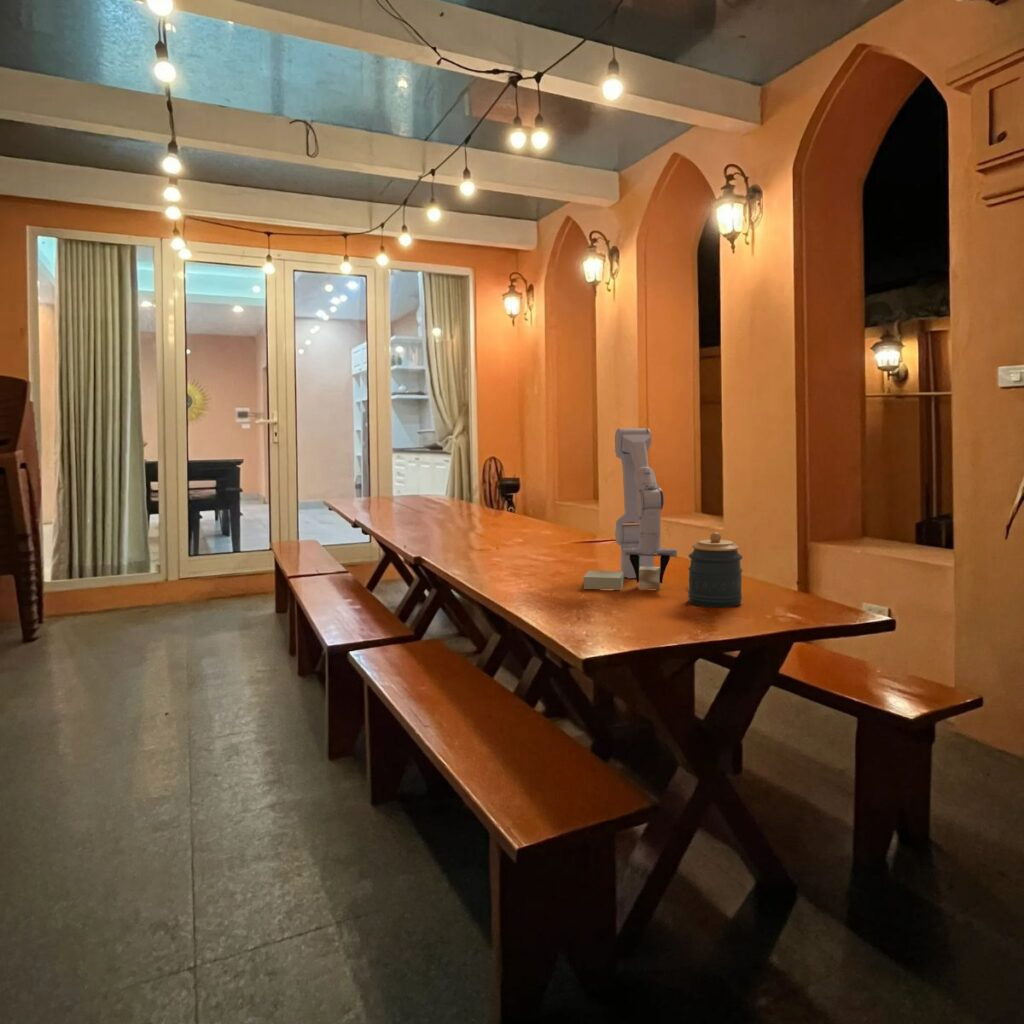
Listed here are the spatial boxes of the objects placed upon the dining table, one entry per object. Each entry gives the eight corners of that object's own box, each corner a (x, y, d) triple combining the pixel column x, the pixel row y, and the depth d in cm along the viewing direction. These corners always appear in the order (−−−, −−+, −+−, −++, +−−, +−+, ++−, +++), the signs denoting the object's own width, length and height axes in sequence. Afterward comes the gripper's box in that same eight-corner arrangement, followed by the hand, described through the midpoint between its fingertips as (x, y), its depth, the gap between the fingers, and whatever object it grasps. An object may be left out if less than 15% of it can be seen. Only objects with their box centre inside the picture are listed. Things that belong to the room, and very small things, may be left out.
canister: (677, 599, 186) (678, 531, 184) (720, 595, 190) (721, 528, 188) (708, 610, 173) (709, 537, 172) (753, 605, 178) (754, 533, 176)
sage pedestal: (623, 583, 207) (623, 571, 207) (620, 590, 198) (620, 578, 197) (588, 582, 210) (588, 570, 209) (583, 589, 200) (583, 576, 200)
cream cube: (660, 586, 203) (660, 566, 202) (659, 590, 197) (659, 570, 197) (640, 585, 204) (640, 566, 203) (638, 589, 199) (638, 569, 198)
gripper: (621, 534, 197) (621, 584, 198) (676, 535, 194) (676, 585, 195) (623, 531, 204) (623, 579, 205) (677, 532, 201) (676, 580, 202)
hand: (649, 582), depth 201 cm, fingers closed on cream cube, 5 cm apart
